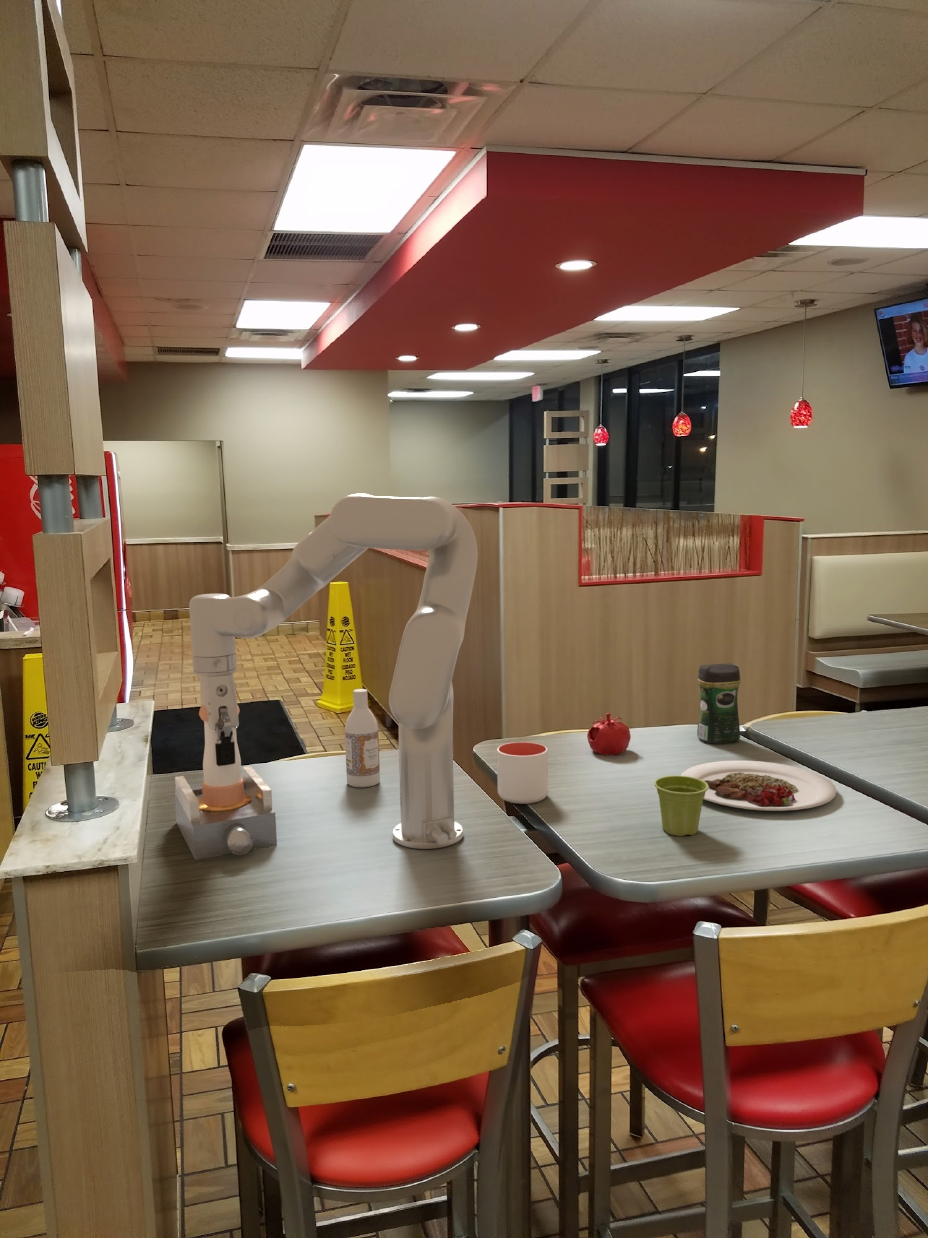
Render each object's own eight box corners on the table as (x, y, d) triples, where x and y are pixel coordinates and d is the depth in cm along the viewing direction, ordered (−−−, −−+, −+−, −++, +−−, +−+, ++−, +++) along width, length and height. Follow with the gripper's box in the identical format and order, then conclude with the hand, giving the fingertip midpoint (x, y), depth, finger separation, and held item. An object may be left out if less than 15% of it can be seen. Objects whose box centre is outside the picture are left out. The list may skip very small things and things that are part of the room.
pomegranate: (633, 747, 218) (633, 708, 217) (627, 759, 209) (627, 719, 208) (591, 744, 221) (591, 706, 220) (583, 756, 212) (583, 716, 211)
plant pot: (713, 826, 168) (714, 780, 166) (698, 844, 160) (699, 795, 158) (663, 817, 172) (664, 772, 171) (646, 834, 164) (646, 787, 163)
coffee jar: (728, 734, 227) (730, 659, 225) (744, 743, 220) (746, 666, 217) (691, 737, 226) (693, 662, 223) (706, 746, 218) (707, 668, 215)
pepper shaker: (213, 810, 163) (207, 703, 160) (196, 799, 168) (190, 696, 165) (251, 800, 167) (246, 697, 164) (233, 790, 173) (228, 690, 170)
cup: (517, 786, 192) (516, 739, 191) (557, 795, 186) (557, 747, 184) (487, 799, 184) (486, 750, 183) (528, 809, 178) (528, 759, 177)
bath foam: (360, 790, 191) (357, 695, 188) (340, 783, 196) (336, 690, 193) (386, 782, 196) (383, 690, 193) (366, 775, 201) (363, 685, 198)
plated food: (744, 760, 207) (744, 746, 207) (867, 796, 183) (868, 779, 182) (648, 787, 190) (648, 771, 190) (770, 830, 166) (770, 812, 165)
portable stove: (282, 853, 159) (280, 799, 158) (199, 869, 153) (195, 814, 152) (250, 810, 181) (248, 763, 179) (176, 822, 175) (173, 774, 173)
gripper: (247, 670, 158) (252, 767, 160) (226, 654, 173) (231, 743, 176) (202, 674, 155) (208, 774, 157) (184, 658, 170) (190, 748, 173)
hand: (220, 757), depth 167 cm, fingers open, 9 cm apart
